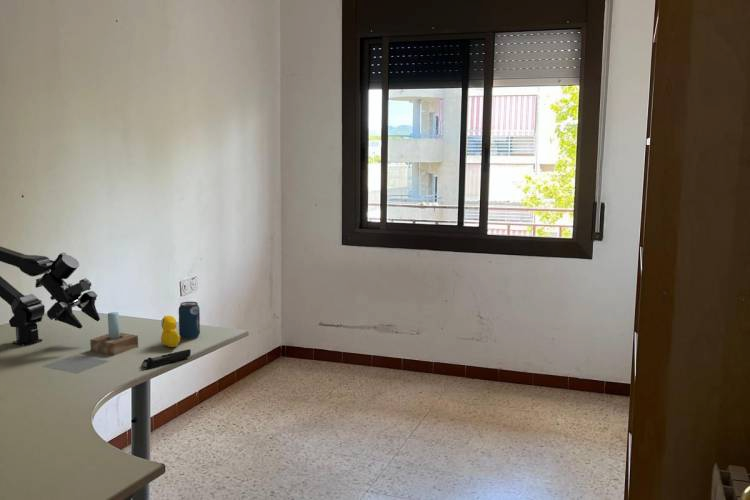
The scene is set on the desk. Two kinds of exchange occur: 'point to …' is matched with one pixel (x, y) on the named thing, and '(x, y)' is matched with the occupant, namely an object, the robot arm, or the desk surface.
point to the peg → (113, 325)
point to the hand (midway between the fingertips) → (90, 323)
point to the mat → (75, 363)
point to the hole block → (114, 344)
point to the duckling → (169, 332)
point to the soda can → (189, 320)
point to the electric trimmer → (165, 359)
